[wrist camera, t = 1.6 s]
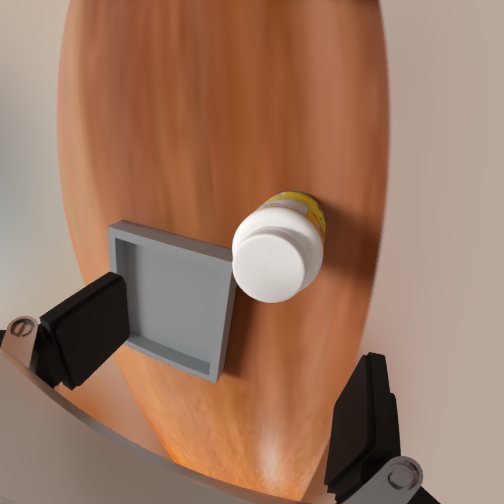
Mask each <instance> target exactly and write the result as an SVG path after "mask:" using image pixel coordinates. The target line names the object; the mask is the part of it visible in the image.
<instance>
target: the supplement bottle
mask: <svg viewBox="0 0 504 504" xmlns="http://www.w3.org/2000/svg"><path fill="white" fill-rule="evenodd" d="M325 230H326V221H325V216H324V213H323V210H322V208H321V207H320V205H319V204H318V202H317V201H316V200H315V199H313V198H312V197H311V196H309V195H307V194H305V193H303V192H299V191H284V192H281V193H278V194H276V195H274V196H273V197H272V198H270V199H269V200H268V201H266V202H265V203H264V204H263V205H261V206H260V207H259V208H258V209H257V210H256V211H254V212H253V213H252V214H251V215H249V216H248V217H247V218H246V219H245V220H244V221H243V222H242V223H241V225H240V226H239V227H238V229H237V231H236V233H235V236H234V239H233V246H232V253H233V261H232V268H233V274H234V277H235V280H236V282H237V283H238V285H239V286H240V288H241V289H242V290H243V291H244V292H245V293H246V294H248V295H249V296H250V297H252V298H254V299H256V300H259V301H262V302H267V303H277V302H282V301H285V300H288V299H290V298H291V297H293V296H294V295H295V294H296V293H297V292H299V291H301V290H303V289H304V288H306V287H307V286H308V285H309V284H311V282H312V281H313V280H314V279H315V277H316V276H317V274H318V273H319V270H320V268H321V264H322V261H323V252H324V241H325Z"/></svg>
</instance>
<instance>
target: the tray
mask: <svg viewBox="0 0 504 504" xmlns="http://www.w3.org/2000/svg"><path fill="white" fill-rule="evenodd" d="M108 242H109V260H110V272H113V273H116V274H118V275H121V276H122V277H123V278H124V281H125V282H126V288H127V303H128V315H129V326H130V336H129V338H128V339H127V340H126V341H125V342H124V343H123V344H125V345H127V346H129V347H131V348H133V349H135V350H137V351H139V352H141V353H143V354H145V355H147V356H150V357H152V358H154V359H156V360H159V361H161V362H163V363H165V364H168V365H170V366H172V367H175V368H177V369H180V370H182V371H184V372H187V373H189V374H192V375H195V376H197V377H200V378H202V379H205V380H208V381H210V382H213V383H217V381H218V380H219V378H220V376H221V374H222V372H223V370H224V364H225V357H226V351H227V344H228V338H229V331H230V325H231V319H232V312H233V306H234V300H235V293H236V287H237V282H236V280H235V277H234V274H233V268H232V261H233V253H232V249H228V248H225V247H221V246H217V245H214V244H210V243H206V242H202V241H199V240H195V239H191V238H188V237H184V236H180V235H176V234H173V233H169V232H165V231H162V230H158V229H154V228H151V227H147V226H143V225H139V224H136V223H132V222H128V221H125V220H121V221H119V222H117V223H115V224H112V225H110V226H108Z"/></svg>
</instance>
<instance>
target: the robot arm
mask: <svg viewBox="0 0 504 504" xmlns="http://www.w3.org/2000/svg"><path fill="white" fill-rule="evenodd" d="M40 321H41V324H39V325H38V323H37V321H36V320H35V319H34V318H32V317H29V316H21V317H18V318H16V319H14V320H13V321H12V322H11V323H9V325H8V327H7V330H0V504H310V503H305V502H300V501H295V500H290V499H285V498H280V497H276V496H272V495H268V494H264V493H260V492H257V491H253V490H249V489H246V488H242V487H239V486H236V485H232V484H229V483H226V482H223V481H220V480H217V479H214V478H212V477H209V476H206V475H204V474H201V473H198V472H196V471H193V470H191V469H188V468H186V467H184V466H181V465H179V464H177V463H174V462H172V461H170V460H168V459H166V458H163V457H161V456H159V455H157V454H155V453H153V452H151V451H149V450H147V449H145V448H143V447H141V446H139V445H138V444H136V443H134V442H132V441H130V440H128V439H127V438H125V437H123V436H121V435H120V434H118V433H116V432H115V431H113V430H111V429H110V428H108V427H106V426H105V425H103V424H102V423H100V422H98V421H97V420H95V419H94V418H92V417H91V416H89V415H88V414H86V413H85V412H84V411H82V410H81V409H79V408H78V407H76V406H75V405H74V404H72V403H71V402H70V401H68V400H67V399H66V398H64V397H63V396H62V395H60V394H59V393H58V392H59V383H60V382H61V381H62V383H63V384H64V385H65V386H66V387H68V388H69V389H70V390H73V389H74V388H75V387H76V386H80V385H81V384H83V383H84V382H85V380H87V379H88V378H89V377H90V376H91V375H92V374H93V373H94V372H95V370H97V369H98V367H100V366H101V365H102V364H103V363H104V362H105V361H106V360H107V359H108V358H109V357H110V356H111V355H112V354H113V353H114V352H115V351H116V350H117V349H118V348H119V347H120V346H121V345H122V344H123V343H124V342H125V341H126V340H127V339H128V338H129V336H130V326H129V315H128V303H127V288H126V282H125V281H124V278H123V277H122V276H121V275H118V274H116V273H113V272H108V273H107V274H105V275H103V276H102V277H100V278H99V279H97V280H95V281H94V282H92V283H91V284H89V285H88V286H86V287H84V288H83V289H81V290H80V291H79V292H77V293H75V294H74V295H72V296H71V297H69V298H67V299H66V300H64V301H63V302H62V303H60V304H58V305H57V306H55V307H54V308H53V309H51V310H50V311H48V312H47V313H45V314H44V315H42V316H41V317H40ZM399 436H400V435H399V423H398V413H397V404H396V398H395V395H394V394H393V393H390V388H389V380H388V373H387V366H386V359H385V356H384V355H381V354H376V353H372V352H369V353H368V354H367V356H366V355H363V356H362V357H361V359H360V361H359V363H358V364H357V366H356V368H355V370H354V372H353V374H352V375H351V377H350V379H349V381H348V383H347V384H346V386H345V388H344V389H343V391H342V393H341V395H340V396H339V398H338V400H337V401H336V403H335V406H334V411H333V421H332V430H331V439H330V446H329V454H328V461H327V467H326V474H325V480H324V484H325V485H328V490H327V493H334V494H336V496H335V500H336V503H335V504H440V503H439V502H438V501H437V500H436V499H434V497H432V496H431V495H430V494H429V493H428V492H427V491H425V489H424V488H423V487H421V484H422V481H423V471H422V469H421V467H420V465H419V464H418V463H417V462H416V461H415V460H413V459H412V458H409V457H405V456H401V449H400V437H399Z"/></svg>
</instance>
